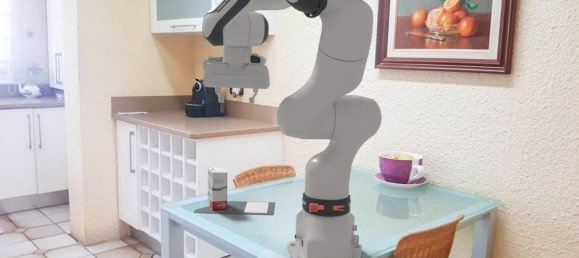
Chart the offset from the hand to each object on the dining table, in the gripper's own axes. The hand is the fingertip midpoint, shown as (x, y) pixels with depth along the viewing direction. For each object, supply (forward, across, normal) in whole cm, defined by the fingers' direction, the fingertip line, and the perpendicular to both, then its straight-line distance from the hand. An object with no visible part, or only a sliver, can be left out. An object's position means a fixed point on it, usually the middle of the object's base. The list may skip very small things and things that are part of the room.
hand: (236, 102), depth 142 cm
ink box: (+33, -5, -1) cm, 33 cm away
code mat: (+33, +1, -2) cm, 33 cm away
